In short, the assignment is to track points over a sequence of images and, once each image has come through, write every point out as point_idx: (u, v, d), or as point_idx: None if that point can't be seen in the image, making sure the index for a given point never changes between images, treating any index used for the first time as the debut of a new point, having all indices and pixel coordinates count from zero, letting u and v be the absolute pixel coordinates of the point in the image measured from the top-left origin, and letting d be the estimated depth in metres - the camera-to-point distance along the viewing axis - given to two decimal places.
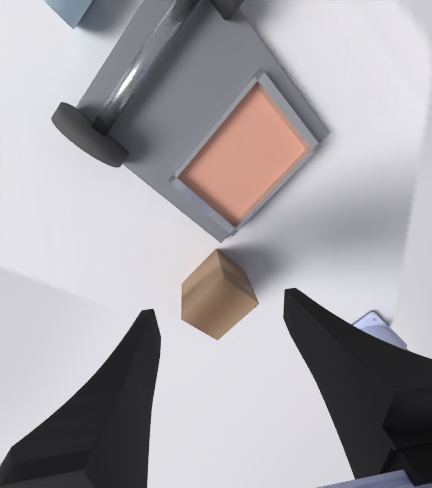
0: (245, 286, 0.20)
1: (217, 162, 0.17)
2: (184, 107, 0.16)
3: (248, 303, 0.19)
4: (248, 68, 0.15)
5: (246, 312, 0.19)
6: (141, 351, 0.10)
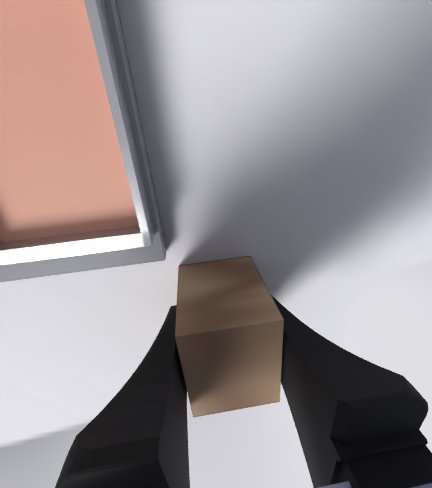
0: (244, 300, 0.10)
1: (12, 172, 0.09)
2: None
3: (264, 333, 0.09)
4: None
5: (278, 345, 0.09)
6: None
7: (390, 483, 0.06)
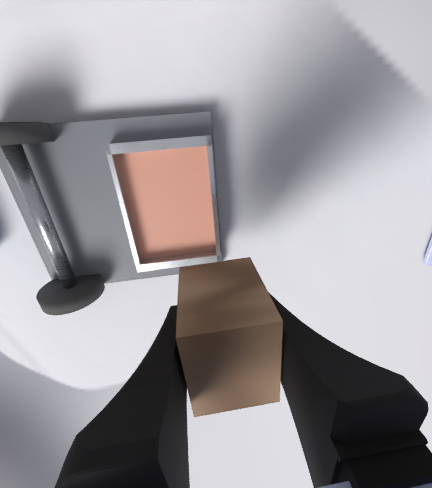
0: (244, 301, 0.10)
1: (155, 225, 0.18)
2: (98, 217, 0.17)
3: (264, 334, 0.09)
4: (102, 148, 0.15)
5: (277, 345, 0.09)
6: None
7: (390, 483, 0.06)
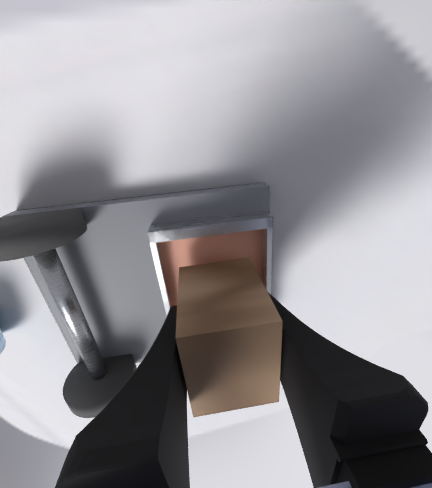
0: (244, 301, 0.10)
1: None
2: (132, 299, 0.15)
3: (263, 334, 0.09)
4: (141, 229, 0.13)
5: (277, 346, 0.09)
6: None
7: (390, 483, 0.06)
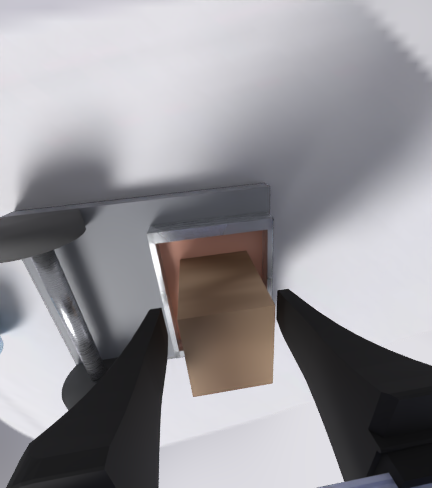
0: (240, 288, 0.11)
1: None
2: (131, 300, 0.15)
3: (257, 317, 0.10)
4: (140, 230, 0.13)
5: (270, 328, 0.10)
6: (151, 349, 0.10)
7: None
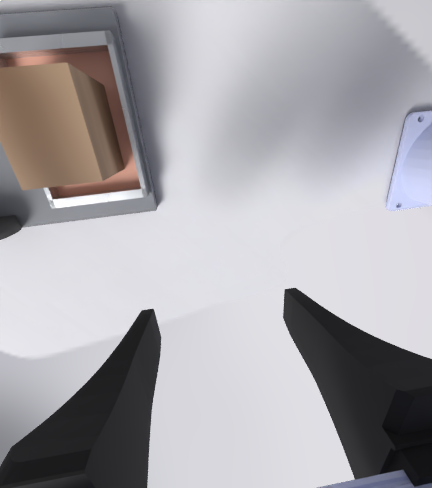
0: None
1: None
2: (0, 143, 0.15)
3: (54, 78, 0.10)
4: None
5: (73, 97, 0.10)
6: (141, 351, 0.10)
7: None
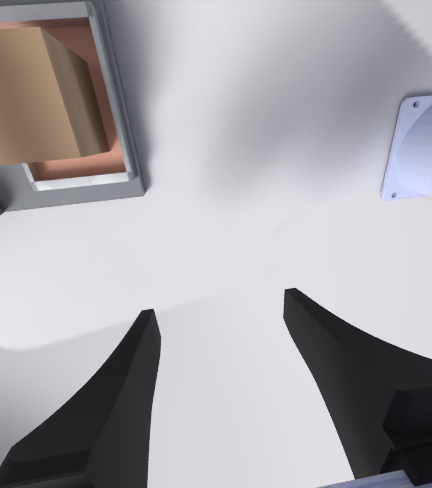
0: None
1: None
2: None
3: (26, 44, 0.10)
4: None
5: (47, 65, 0.10)
6: (141, 350, 0.10)
7: None
